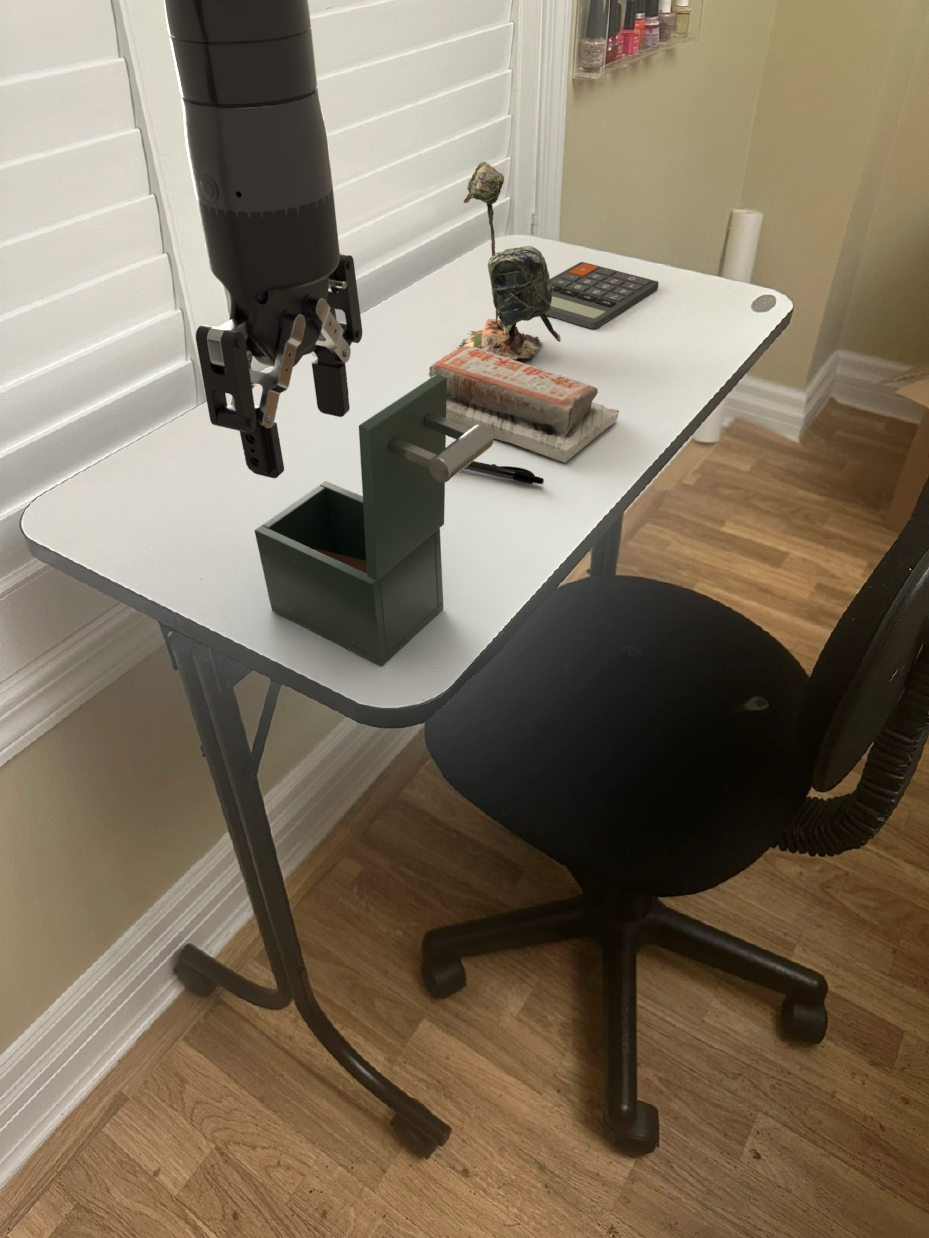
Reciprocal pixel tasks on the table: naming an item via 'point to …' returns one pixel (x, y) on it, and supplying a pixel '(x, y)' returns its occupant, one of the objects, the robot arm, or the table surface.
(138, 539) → the table surface
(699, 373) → the table surface
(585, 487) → the table surface
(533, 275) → the plant with pod
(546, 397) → the packaged product
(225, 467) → the table surface
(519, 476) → the pen
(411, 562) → the green storage bin
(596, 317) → the calculator
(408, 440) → the bin lid
